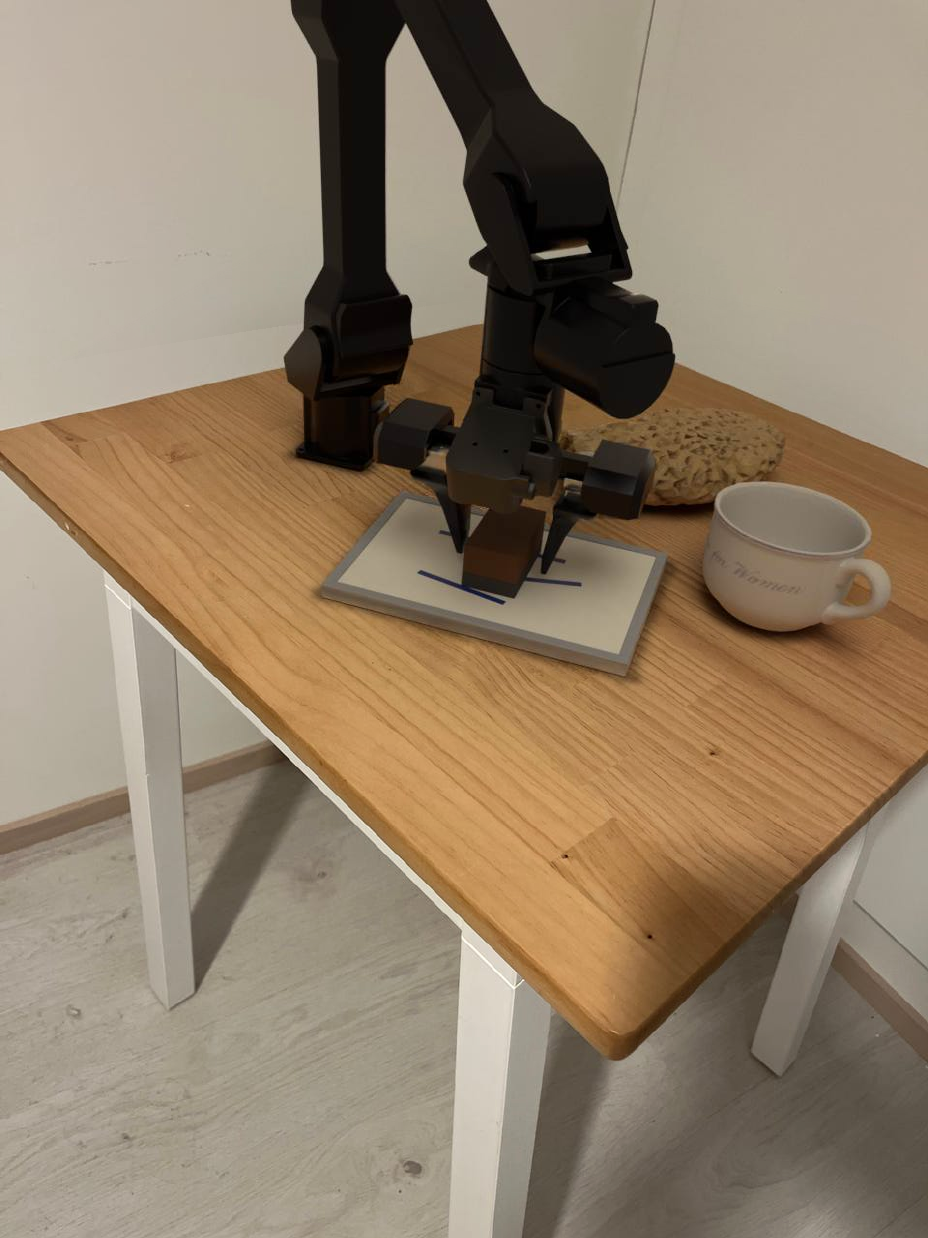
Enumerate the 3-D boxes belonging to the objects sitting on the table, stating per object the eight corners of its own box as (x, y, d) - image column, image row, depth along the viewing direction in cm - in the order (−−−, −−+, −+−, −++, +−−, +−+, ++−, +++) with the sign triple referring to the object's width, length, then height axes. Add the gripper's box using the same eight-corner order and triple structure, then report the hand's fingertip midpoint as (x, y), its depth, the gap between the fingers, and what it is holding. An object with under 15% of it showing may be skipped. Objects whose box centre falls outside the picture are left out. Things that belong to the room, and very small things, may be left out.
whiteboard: (321, 597, 76) (321, 583, 75) (400, 502, 88) (401, 490, 87) (625, 677, 71) (628, 663, 70) (666, 565, 82) (669, 552, 82)
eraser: (460, 585, 76) (464, 543, 74) (491, 539, 82) (495, 499, 80) (514, 599, 75) (519, 557, 73) (541, 551, 81) (546, 510, 79)
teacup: (665, 579, 81) (685, 485, 76) (781, 556, 85) (807, 466, 80) (777, 691, 71) (809, 591, 66) (904, 660, 75) (942, 563, 70)
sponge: (573, 540, 87) (820, 504, 86) (563, 447, 84) (820, 409, 83) (557, 489, 99) (774, 457, 98) (547, 406, 95) (772, 372, 95)
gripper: (340, 373, 65) (339, 587, 74) (642, 436, 61) (602, 655, 70) (407, 316, 74) (399, 513, 83) (676, 368, 69) (636, 570, 78)
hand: (502, 561), depth 78 cm, fingers open, 6 cm apart
